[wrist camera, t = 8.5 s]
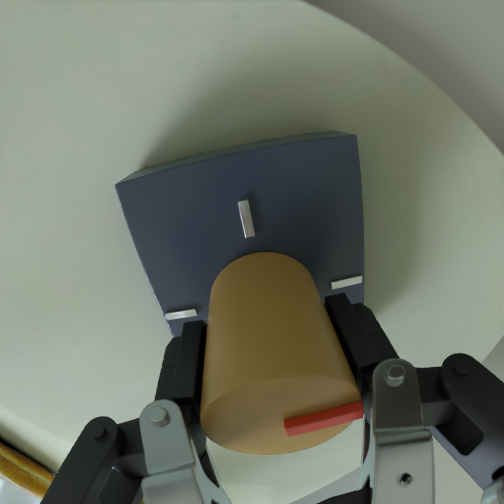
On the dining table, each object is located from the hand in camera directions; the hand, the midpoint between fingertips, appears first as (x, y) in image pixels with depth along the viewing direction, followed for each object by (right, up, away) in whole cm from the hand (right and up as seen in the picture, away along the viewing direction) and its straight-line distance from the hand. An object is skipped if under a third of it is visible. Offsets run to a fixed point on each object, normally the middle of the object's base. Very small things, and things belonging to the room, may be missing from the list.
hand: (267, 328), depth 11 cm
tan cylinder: (0, +1, +1) cm, 2 cm away
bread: (-48, -33, +18) cm, 61 cm away
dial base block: (0, +2, +4) cm, 4 cm away
